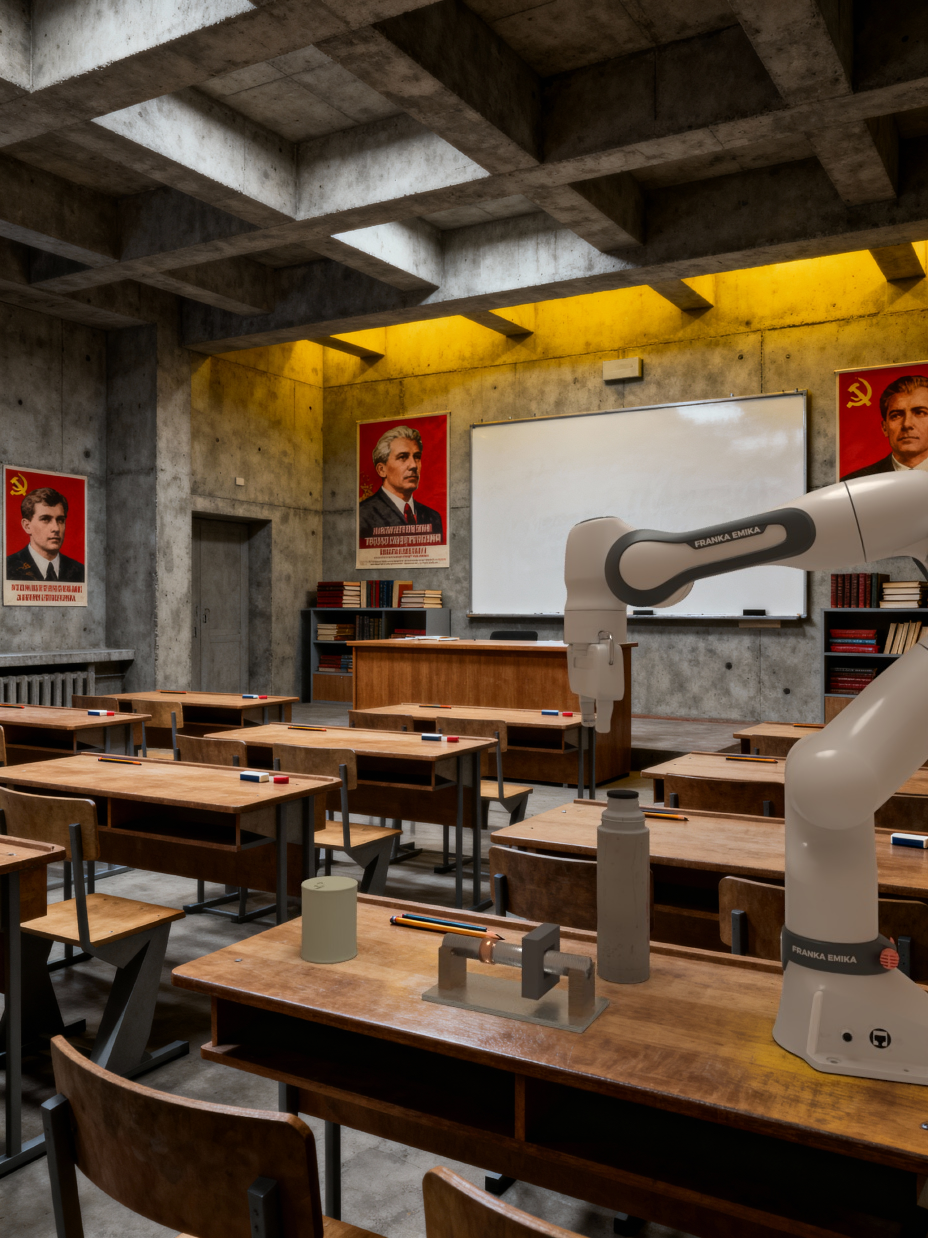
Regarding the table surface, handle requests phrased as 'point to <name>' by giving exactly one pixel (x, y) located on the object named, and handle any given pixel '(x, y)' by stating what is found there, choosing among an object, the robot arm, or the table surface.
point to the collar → (538, 960)
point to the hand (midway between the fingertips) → (595, 729)
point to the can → (329, 919)
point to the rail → (515, 984)
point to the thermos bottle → (623, 890)
